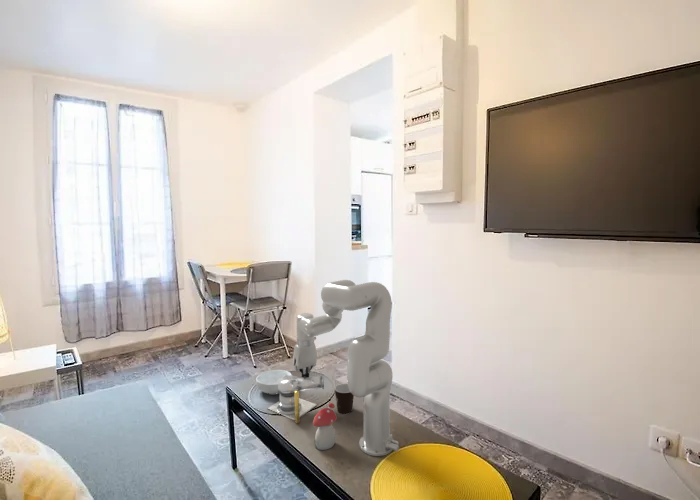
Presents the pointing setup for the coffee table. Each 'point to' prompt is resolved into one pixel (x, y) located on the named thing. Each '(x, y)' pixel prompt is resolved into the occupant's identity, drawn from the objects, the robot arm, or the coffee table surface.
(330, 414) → the decorative ornament
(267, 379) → the cereal bowl
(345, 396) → the coffee mug
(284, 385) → the elbow
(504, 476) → the coffee table surface
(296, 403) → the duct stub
